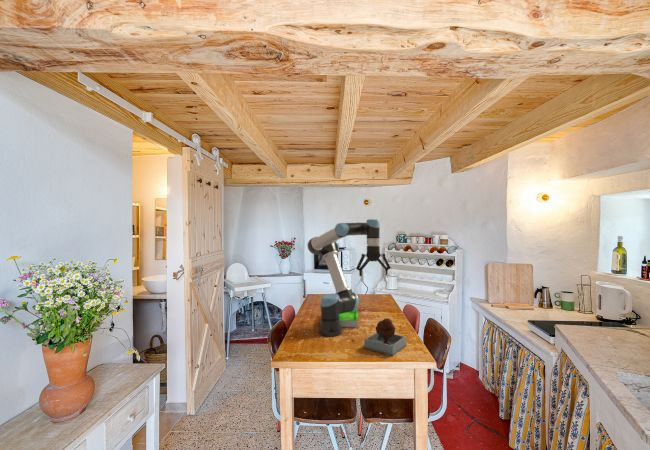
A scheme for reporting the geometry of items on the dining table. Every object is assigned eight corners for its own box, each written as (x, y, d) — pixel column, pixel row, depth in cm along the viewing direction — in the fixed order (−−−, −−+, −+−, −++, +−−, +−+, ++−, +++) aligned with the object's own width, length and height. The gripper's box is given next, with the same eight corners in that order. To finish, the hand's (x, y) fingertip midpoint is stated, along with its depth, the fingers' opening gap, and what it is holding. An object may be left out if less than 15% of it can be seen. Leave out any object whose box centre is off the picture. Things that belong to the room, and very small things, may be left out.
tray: (358, 317, 230) (358, 310, 230) (358, 328, 205) (358, 320, 205) (324, 316, 233) (324, 309, 233) (320, 327, 208) (320, 320, 208)
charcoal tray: (364, 348, 171) (364, 339, 171) (379, 339, 184) (379, 330, 184) (392, 356, 160) (392, 346, 160) (406, 345, 174) (406, 336, 174)
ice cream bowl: (396, 342, 176) (395, 315, 176) (395, 349, 165) (394, 321, 165) (377, 340, 179) (376, 314, 179) (375, 348, 168) (374, 320, 168)
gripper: (353, 246, 178) (353, 283, 179) (395, 245, 181) (396, 281, 181) (351, 245, 186) (351, 280, 186) (391, 244, 189) (391, 279, 189)
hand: (373, 281), depth 184 cm, fingers open, 13 cm apart
